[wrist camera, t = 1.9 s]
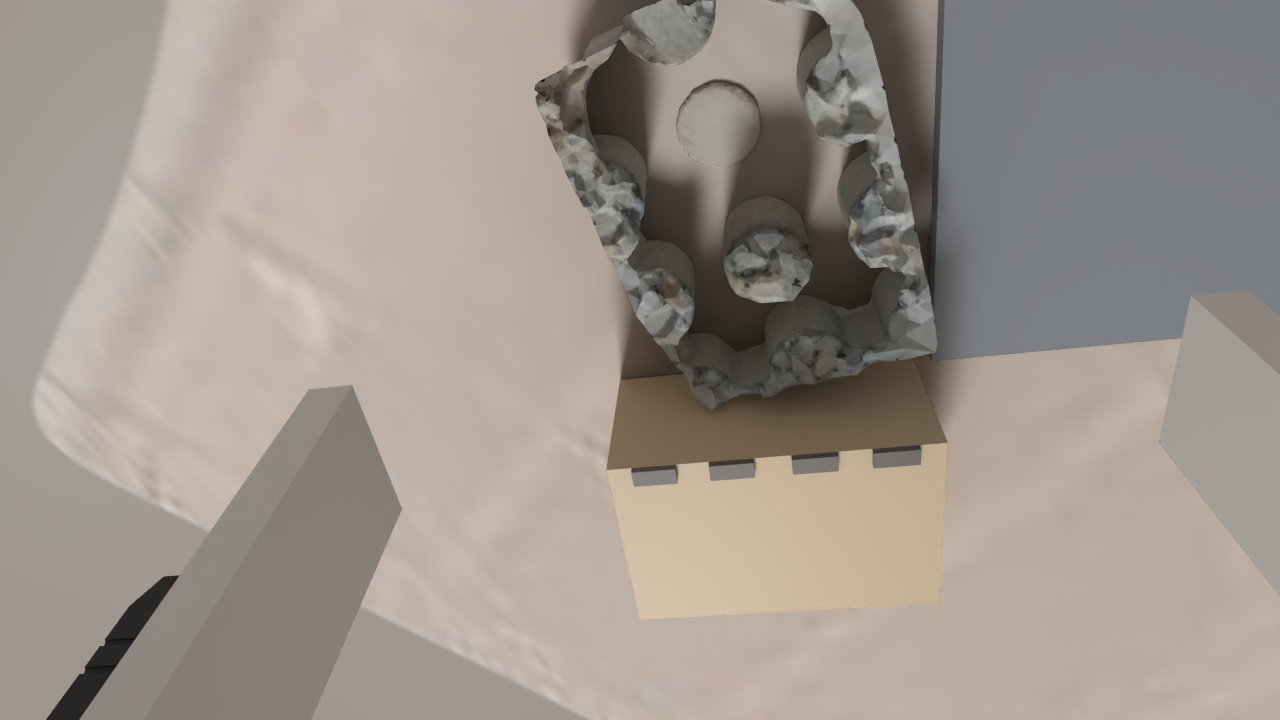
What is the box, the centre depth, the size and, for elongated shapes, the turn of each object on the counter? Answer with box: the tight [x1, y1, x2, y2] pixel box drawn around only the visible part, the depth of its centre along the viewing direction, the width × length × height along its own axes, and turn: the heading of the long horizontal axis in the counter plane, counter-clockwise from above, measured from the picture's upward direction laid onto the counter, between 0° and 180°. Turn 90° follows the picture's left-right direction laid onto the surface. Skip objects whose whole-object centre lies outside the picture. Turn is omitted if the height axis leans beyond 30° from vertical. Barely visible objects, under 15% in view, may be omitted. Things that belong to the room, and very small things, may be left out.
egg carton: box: [534, 0, 938, 410], centre depth 21 cm, size 11×8×4 cm
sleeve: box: [606, 358, 948, 620], centre depth 25 cm, size 9×6×5 cm, turn 99°
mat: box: [929, 0, 1280, 361], centre depth 20 cm, size 11×14×1 cm
